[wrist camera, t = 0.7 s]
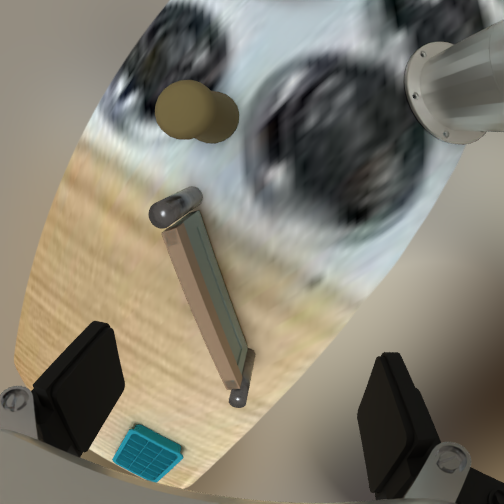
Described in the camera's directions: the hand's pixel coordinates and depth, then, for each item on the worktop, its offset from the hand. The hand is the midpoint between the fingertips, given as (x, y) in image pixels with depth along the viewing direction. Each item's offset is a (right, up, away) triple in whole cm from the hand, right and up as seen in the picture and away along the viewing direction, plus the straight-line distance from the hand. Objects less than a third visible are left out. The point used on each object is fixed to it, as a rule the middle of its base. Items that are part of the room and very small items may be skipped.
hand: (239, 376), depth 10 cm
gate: (-3, 0, +28) cm, 28 cm away
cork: (-4, +19, +23) cm, 30 cm away
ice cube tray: (-22, -38, +46) cm, 64 cm away
